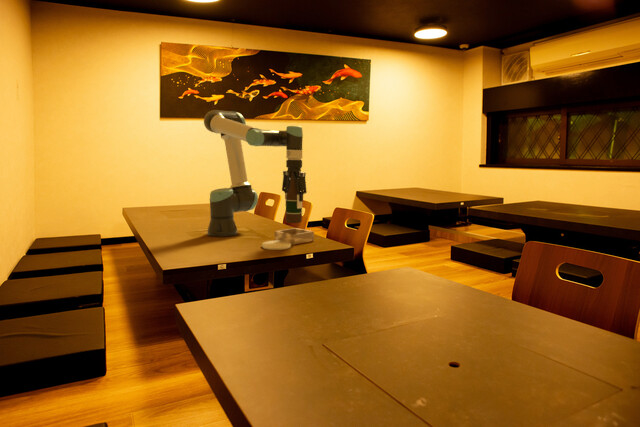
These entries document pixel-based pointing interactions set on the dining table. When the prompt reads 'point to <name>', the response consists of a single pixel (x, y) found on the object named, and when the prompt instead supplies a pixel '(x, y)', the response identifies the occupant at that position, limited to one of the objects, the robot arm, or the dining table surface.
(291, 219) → the beer bottle
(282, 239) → the box
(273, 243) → the ceramic plate
